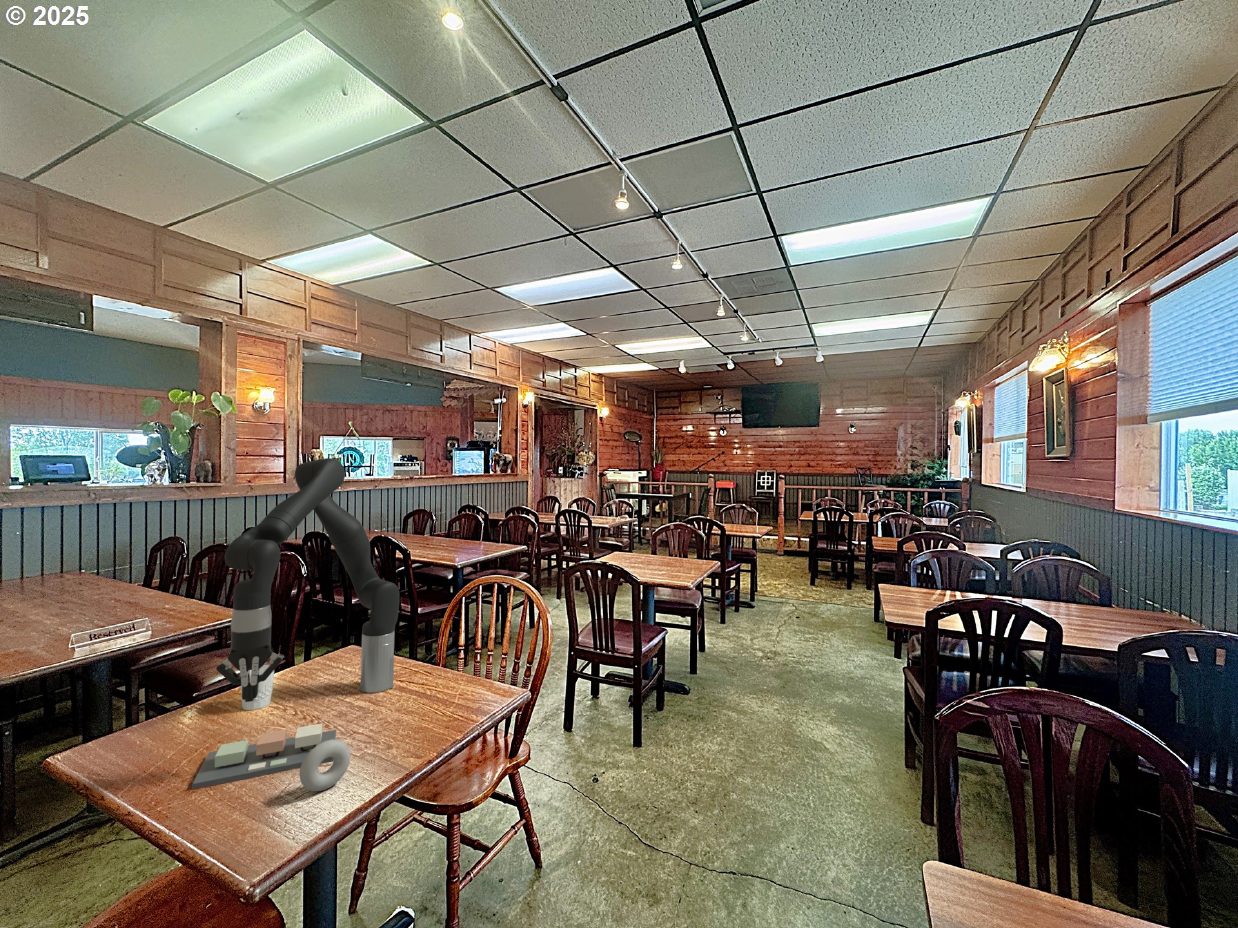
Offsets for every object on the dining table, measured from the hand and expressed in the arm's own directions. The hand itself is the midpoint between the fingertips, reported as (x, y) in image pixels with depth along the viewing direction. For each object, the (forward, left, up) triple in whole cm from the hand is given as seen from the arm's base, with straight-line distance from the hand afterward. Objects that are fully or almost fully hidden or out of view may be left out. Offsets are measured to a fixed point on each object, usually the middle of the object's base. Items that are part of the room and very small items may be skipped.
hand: (249, 700), depth 117 cm
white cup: (+3, -33, -15) cm, 36 cm away
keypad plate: (-5, 0, -15) cm, 15 cm away
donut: (-17, +17, -15) cm, 28 cm away
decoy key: (-5, 0, -13) cm, 14 cm away
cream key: (-12, 0, -13) cm, 18 cm away
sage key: (+3, 0, -14) cm, 14 cm away
